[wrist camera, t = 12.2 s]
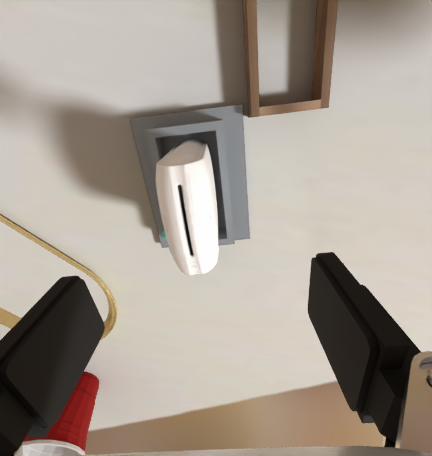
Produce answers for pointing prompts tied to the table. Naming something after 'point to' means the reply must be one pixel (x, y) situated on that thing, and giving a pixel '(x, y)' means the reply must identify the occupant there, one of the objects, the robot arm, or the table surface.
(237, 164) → the docking base
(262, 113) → the wooden picture frame
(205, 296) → the table surface
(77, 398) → the plastic cup
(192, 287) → the table surface
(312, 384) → the table surface
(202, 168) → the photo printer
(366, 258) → the table surface
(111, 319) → the gold oval ring
